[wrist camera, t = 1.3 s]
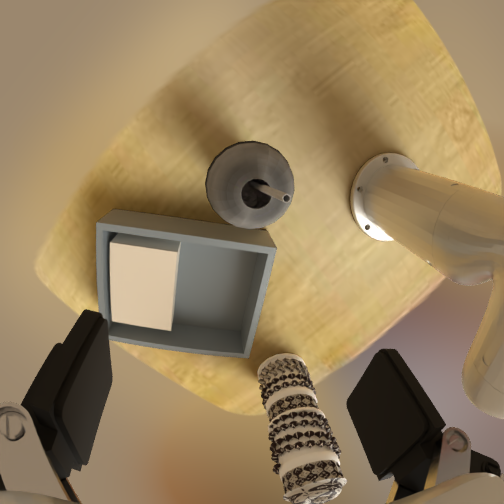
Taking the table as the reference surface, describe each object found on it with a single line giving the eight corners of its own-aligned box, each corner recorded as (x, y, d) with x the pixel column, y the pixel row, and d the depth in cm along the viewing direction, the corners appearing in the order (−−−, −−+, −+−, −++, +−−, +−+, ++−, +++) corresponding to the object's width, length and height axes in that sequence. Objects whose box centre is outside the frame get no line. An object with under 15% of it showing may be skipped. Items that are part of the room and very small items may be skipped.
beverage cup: (196, 161, 33) (172, 193, 15) (248, 128, 32) (290, 117, 14) (230, 210, 36) (247, 293, 17) (280, 178, 35) (350, 228, 17)
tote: (267, 230, 37) (276, 248, 32) (244, 331, 43) (248, 358, 37) (113, 208, 34) (96, 222, 28) (113, 313, 39) (101, 338, 34)
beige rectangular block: (181, 239, 35) (177, 252, 32) (173, 313, 39) (170, 330, 36) (120, 231, 34) (109, 242, 30) (119, 305, 38) (112, 321, 34)
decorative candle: (288, 392, 50) (322, 509, 27) (245, 380, 47) (266, 512, 24) (317, 359, 47) (369, 483, 24) (273, 344, 45) (313, 488, 22)
